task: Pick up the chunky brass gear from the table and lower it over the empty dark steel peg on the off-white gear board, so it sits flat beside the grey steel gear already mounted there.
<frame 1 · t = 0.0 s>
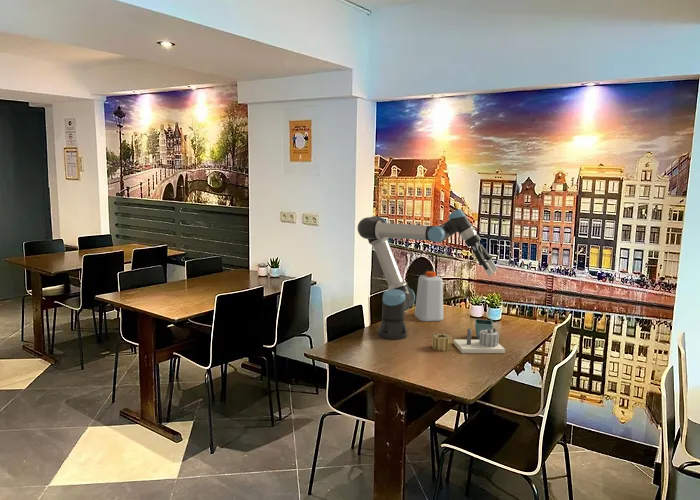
hand: (493, 272, 263), 36 cm above the table, tool tilted 35°, fingers open, 13 cm apart
plastic bottle: (428, 318, 311), on the table
gear board: (478, 348, 257), on the table
flower pot: (482, 338, 274), on the table
brass gear: (441, 348, 256), on the table
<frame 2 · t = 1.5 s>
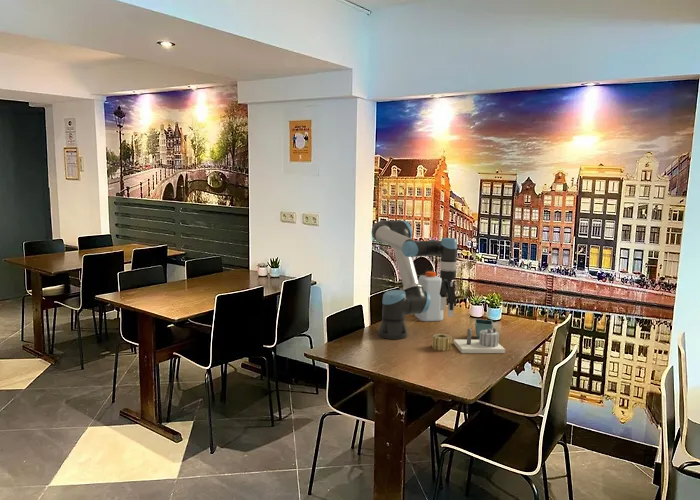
hand: (446, 313, 254), 17 cm above the table, tool pointing down, fingers open, 13 cm apart
nothing on the table moved.
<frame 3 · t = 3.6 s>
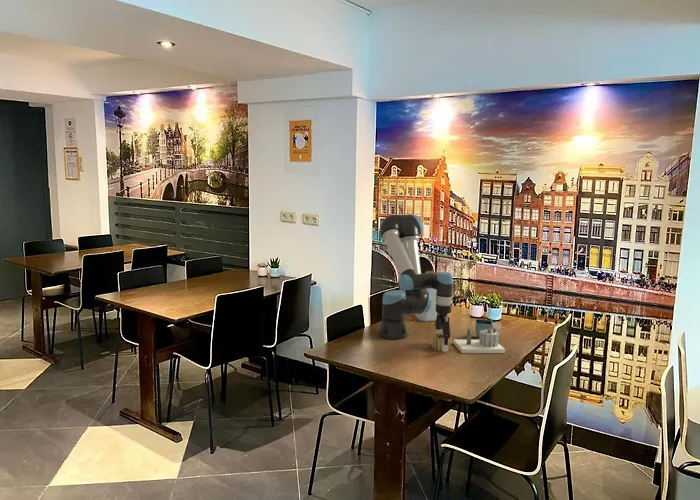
hand: (441, 346, 256), 1 cm above the table, tool pointing down, fingers open, 13 cm apart
nothing on the table moved.
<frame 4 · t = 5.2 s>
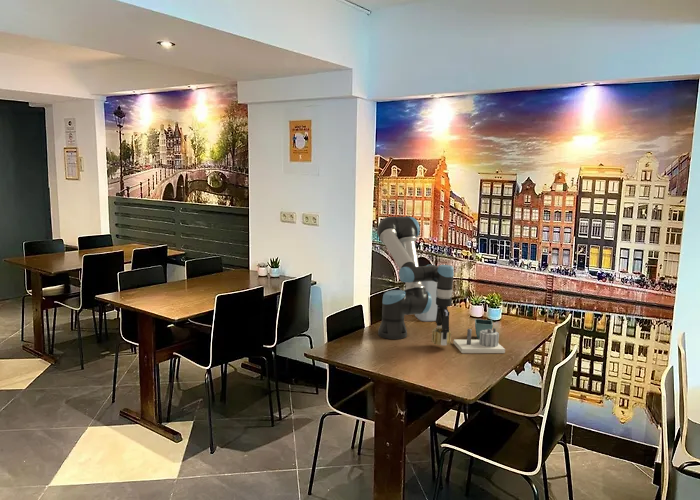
hand: (441, 341, 256), 3 cm above the table, tool pointing down, fingers closed on brass gear, 9 cm apart
brass gear: (441, 342, 256), point 3 cm above the table, touching gripper
everything else where it was.
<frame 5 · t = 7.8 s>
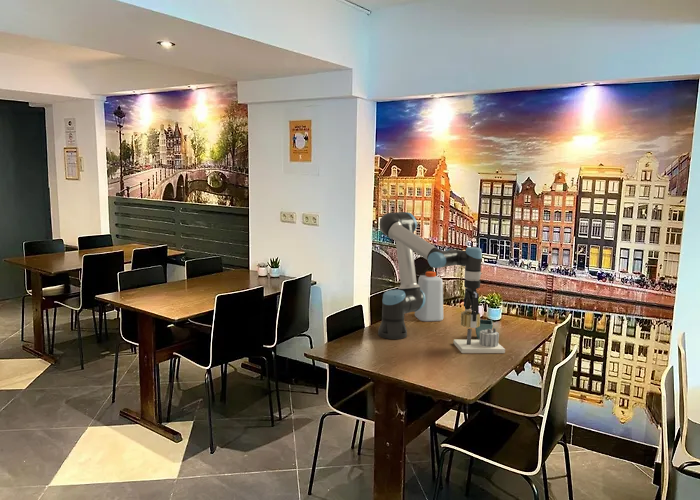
hand: (470, 324, 255), 12 cm above the table, tool pointing down, fingers closed on brass gear, 9 cm apart
brass gear: (470, 325, 255), point 12 cm above the table, touching gripper
everything else where it was.
when the fingers open (3 cm above the table, at t = 10.5 s): brass gear drops 1 cm, resting on gear board.
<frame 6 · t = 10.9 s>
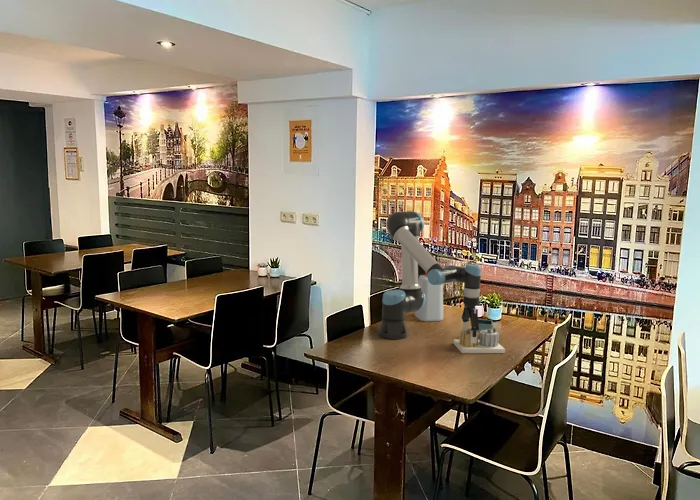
hand: (469, 338, 256), 5 cm above the table, tool pointing down, fingers open, 13 cm apart
brass gear: (468, 344, 257), point 2 cm above the table, touching gear board
everything else where it was.
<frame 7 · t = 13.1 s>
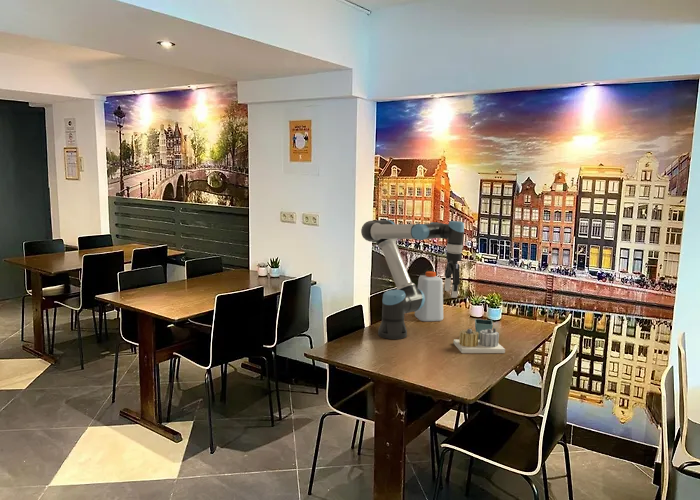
hand: (450, 294, 263), 25 cm above the table, tool pointing down, fingers open, 13 cm apart
nothing on the table moved.
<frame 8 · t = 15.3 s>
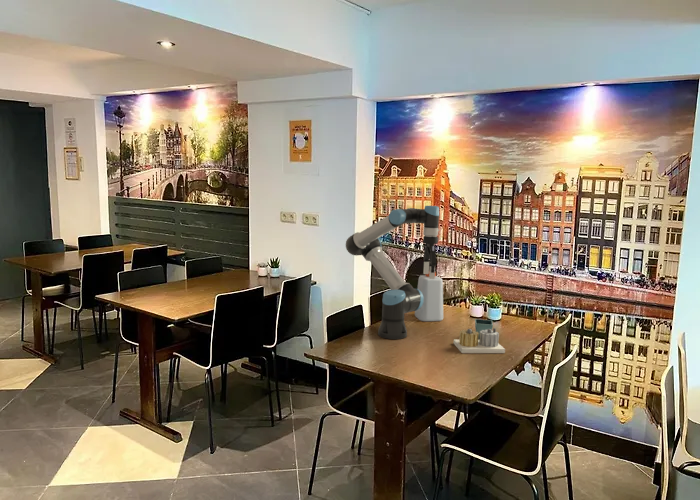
hand: (428, 276, 272), 32 cm above the table, tool pointing down, fingers open, 13 cm apart
nothing on the table moved.
at the end: brass gear 0.1 cm from the target spot on the gear board, point 2.0 cm above the gear board's base; brass gear tilted 0°; the gripper is holding nothing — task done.
